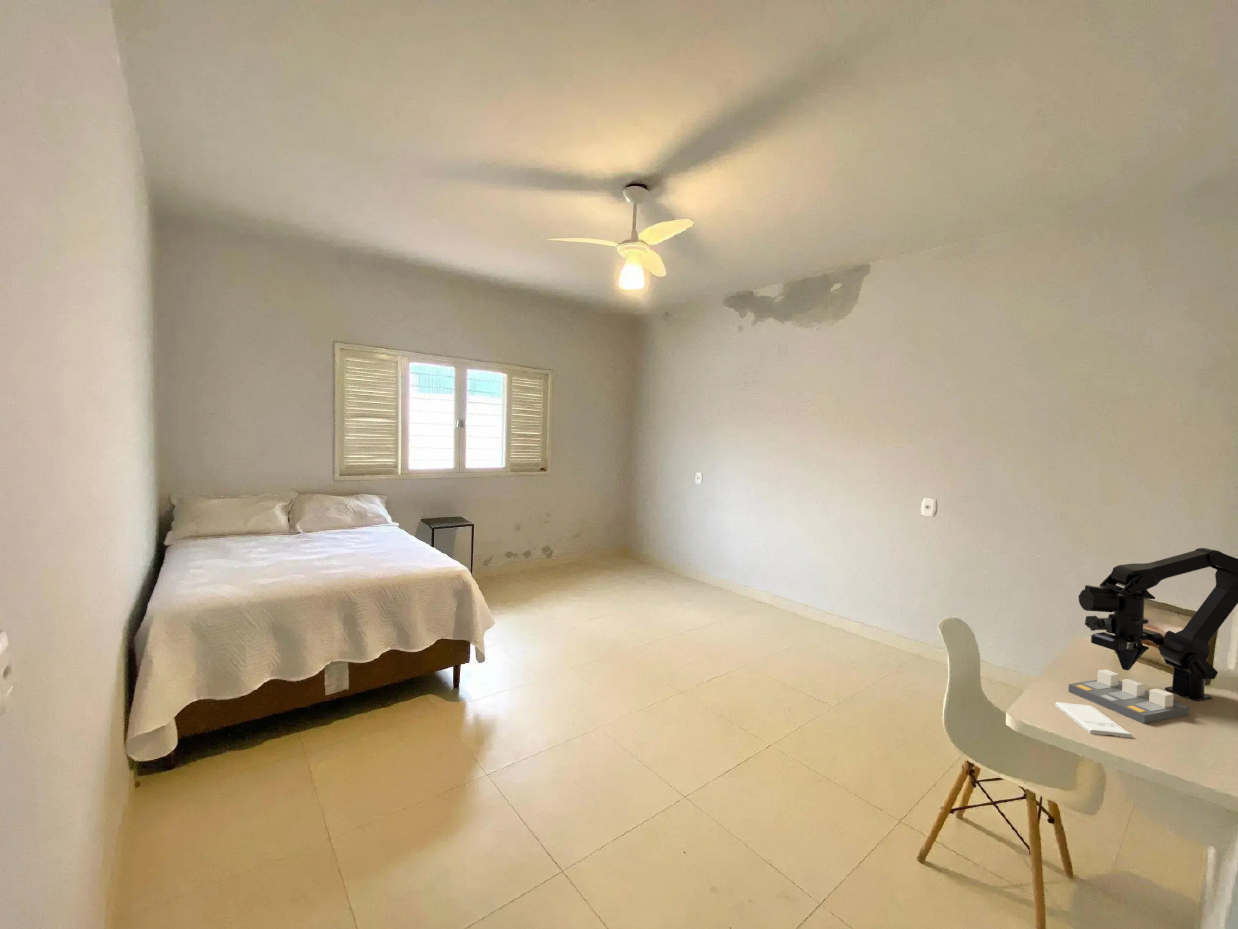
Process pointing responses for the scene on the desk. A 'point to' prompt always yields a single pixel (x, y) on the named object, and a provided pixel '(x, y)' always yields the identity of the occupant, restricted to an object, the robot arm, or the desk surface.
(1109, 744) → the desk surface
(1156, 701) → the tab
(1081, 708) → the external hard drive
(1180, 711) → the switch panel
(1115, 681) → the tab
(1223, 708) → the desk surface
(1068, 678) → the desk surface
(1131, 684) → the tab
